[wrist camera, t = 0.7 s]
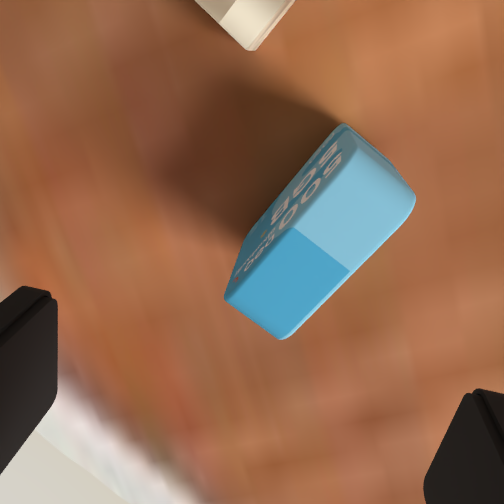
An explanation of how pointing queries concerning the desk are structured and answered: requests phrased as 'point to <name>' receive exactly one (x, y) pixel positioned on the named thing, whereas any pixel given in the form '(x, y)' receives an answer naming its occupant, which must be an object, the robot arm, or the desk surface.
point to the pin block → (247, 18)
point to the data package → (318, 232)
